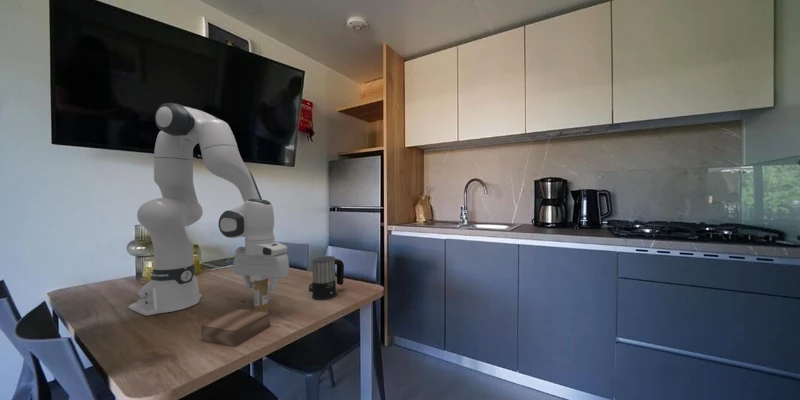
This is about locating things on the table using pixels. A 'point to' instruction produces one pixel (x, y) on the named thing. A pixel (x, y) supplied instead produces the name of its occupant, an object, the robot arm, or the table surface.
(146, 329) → the table surface
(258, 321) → the walnut pedestal
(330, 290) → the milk frother
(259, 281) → the sprinkles bottle
